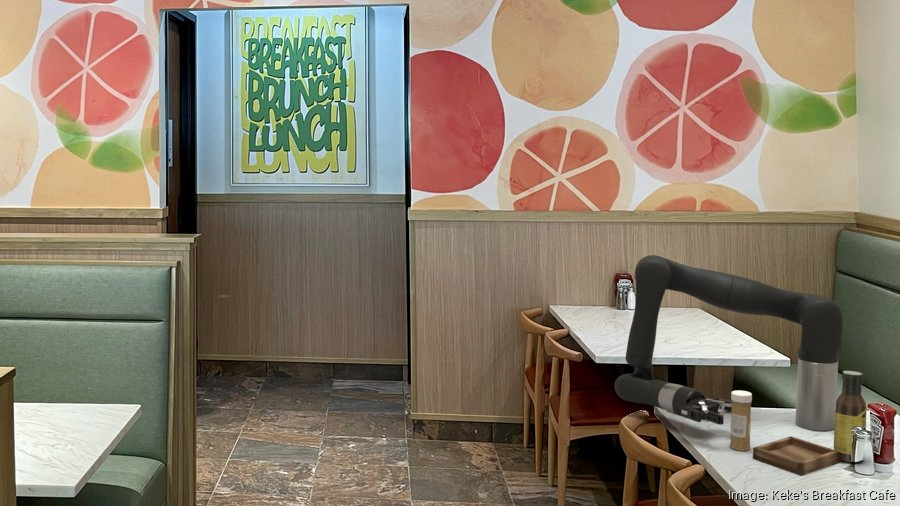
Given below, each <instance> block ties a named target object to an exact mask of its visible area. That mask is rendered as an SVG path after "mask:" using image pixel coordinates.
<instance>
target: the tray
mask: <svg viewBox="0 0 900 506" xmlns="http://www.w3.org/2000/svg"><path fill="white" fill-rule="evenodd" d="M839 456H840V451H836V450H834V448H833V449H832V448H829V447H826V446H823V445H820V444H817V443H814V442H810V441H807V440H805V439H801V438H798V437H795V436H787V437H783V438H782V439H781V438H780V439H778V440H773V441H771V442H768V443H763V444H761V445H757V446H755V447H753V448H752V459H754V460H756V461H760V462H762V463H765V464H767V465H770V466H773V467H776V468H779V469H782V470H783V471H787V472H791V473H792V474H795V475H798V476H803V475H807V474H809V473H813V472H816V471H818V470H821V469H824V468H827V467H829V466H833V465H835V464H838V463H840V460H839Z"/></svg>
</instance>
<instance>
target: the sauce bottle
mask: <svg viewBox="0 0 900 506" xmlns="http://www.w3.org/2000/svg"><path fill="white" fill-rule="evenodd" d="M863 375H864V374H863V373H862V372H859V371H854V370H844V371H842V375H841V379H842V389H841V393H840V395H838V399H837V401H836V410H835V428H834V429H833V430H834V432H833V450H836V451H840V456H839V462H844V463H852V462H851V453H852V440H853V437H852V428H853V426H859V427H863V428H866V429H867V409H868V408H867V407H868V406H867V404H866V401H865V399H864V397H863V395H862V382H863V380H864V379H863V378H864V376H863Z"/></svg>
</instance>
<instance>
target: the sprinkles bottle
mask: <svg viewBox="0 0 900 506" xmlns="http://www.w3.org/2000/svg"><path fill="white" fill-rule="evenodd" d="M730 398H731V399H730V401H732V410H731V415H730V444H729V447H730V448H731V449H732V450H735V451H741V452H746V451H749V450H750V449H751V427H752V422H751V421H752V420H751V416H752V415H751V413H752V409H751V407H752V401H753V394H752V392H750V391H746V390H740V389H739V390H733V391H731V394H730Z"/></svg>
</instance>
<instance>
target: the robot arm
mask: <svg viewBox="0 0 900 506" xmlns="http://www.w3.org/2000/svg"><path fill="white" fill-rule="evenodd" d="M634 280H635V304H634V305H635V306H634V313H633V317H632V322H631V326H630V329H629V334H628V338H627V340H628V341H627V346H626V350H625V351H626V352H625V362H626V363H627V364H628V366H631V367H634V372H631V373H625V374H621V375H620V376H618V377H617V378H616V380H615V381H614V390H615V392H616V394H617V396H618V397H619V398H620V399H622V400H624V401H626V402H629V403H635V404H642V405H649V406H652V407H655V408H658V409H662V410H664V411H666V412H667V413H671V414H673V415H675V416H678V417H682V418H685V419H688V420H691V421H694V422H697V423H701V422H702V421H703V422H705V423H706V422H707V423H708V422H711V423H714V424H716V425H720V426H721V425H724V423H725V417H724V416H726V415H730V416H731V410H732V401H731V399H725V398H722V397H715V399H711V398H706V397H705V395H704V393H703V392H702V391H700V390H698V389H695V388H692V387H688V386H684V385H681V384H678V383H677V384H676V383H671V382H667V381H663V380H660V379H655V378H654V367H653V358H654V350H655V344H656V337H657V327H658V319H659V313H660V309H661V305H662V302H663V298H664V296H665V294H666V293H665V292H666V290H669V291H672V292H673V291H674V292H679V293H682V294H686V295H688V296H691V297H694V298H695V299H698V300H699V301H701V302H704V303H706V304H708V305H711V306H713V307H716V308H719V309H723V310H727V311H729V312H730V311H731V312H735V313H739V314H745V315H752V316H753V315H754V316H766V317H767V316H768V317H774V318H775V317H776V318H779V319H783V320H785V321H788V322H789V321H790V322H792V323H795V324H798V325H800V326H801V339H800V345H799V347H798V353H797V355H798V356H797V378H796V379H797V380H796V401H795V402H796V403H795V404H796V405H795V424H796V426H798V427H800V428H804V429H807V430H812V431H820V432H821V431H822V432H823V431H825V432H827V431H832V430H834V428H835V410H836V401H837V399H838V397H839V389H838V376H839V375H838V372H839V371H838V369H839V358H840V357H839V355H840V352H841V350H842V341H843V337H842V336H843V325H844V319H843V318H844V317H843V312H842V309H841V308H840V306H839V305H838V304H837V303H836V302H835V301H833V300H832V299H830V298H829V297H827V296H824V295H820V294H813V293H812V294H811V293H803V292H799V291H791V290H786V289H782V288H778V287H775V286H773V285H770V284H767V283H763V282H761V281H758V280H753V279H750V278H747V277H745V276H744V277H743V276H739V275H734V274H731V273H727V272H721V271H716V270H709V269H705V268H704V269H703V268H697V267H693V266H689V265H685V264H682V263H680V262H676V261H673V260H671V259H668V258H665V257H662V256H660V255H656V254H655V255H654V254H652V255H646V256H644V257H642V258H641V259H639V261H638V262H637V264H636V265H635V269H634ZM719 410H721V411H719Z"/></svg>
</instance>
